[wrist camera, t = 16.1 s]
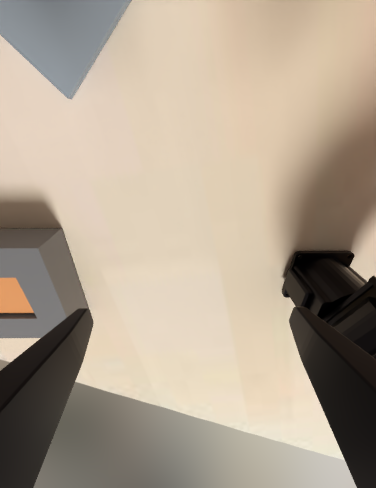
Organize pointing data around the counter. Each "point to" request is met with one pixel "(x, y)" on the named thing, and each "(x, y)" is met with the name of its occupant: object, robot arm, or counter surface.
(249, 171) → the counter surface
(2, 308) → the button
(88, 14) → the mat
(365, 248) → the counter surface
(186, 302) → the counter surface
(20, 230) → the grey square block
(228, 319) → the counter surface
